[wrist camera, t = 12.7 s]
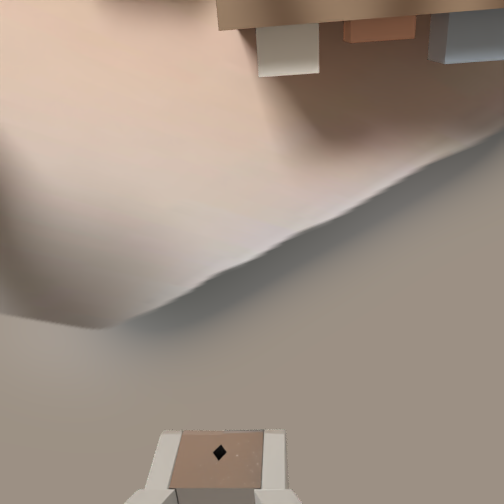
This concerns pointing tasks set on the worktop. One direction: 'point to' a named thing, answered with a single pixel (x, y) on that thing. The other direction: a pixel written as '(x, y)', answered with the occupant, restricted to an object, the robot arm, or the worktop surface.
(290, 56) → the white key
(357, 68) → the worktop surface
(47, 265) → the worktop surface
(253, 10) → the walnut console
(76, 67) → the worktop surface
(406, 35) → the terracotta key
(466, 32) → the slate blue key
